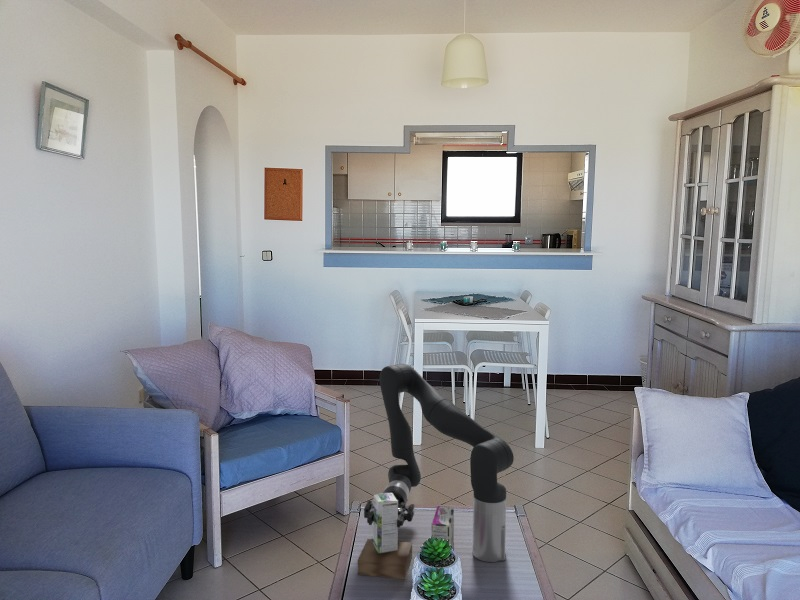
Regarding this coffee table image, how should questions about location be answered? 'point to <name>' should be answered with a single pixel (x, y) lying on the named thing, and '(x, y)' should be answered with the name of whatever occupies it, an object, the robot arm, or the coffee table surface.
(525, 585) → the coffee table surface
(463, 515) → the coffee table surface
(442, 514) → the candy bar box
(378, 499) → the syrup box
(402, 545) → the walnut riser
